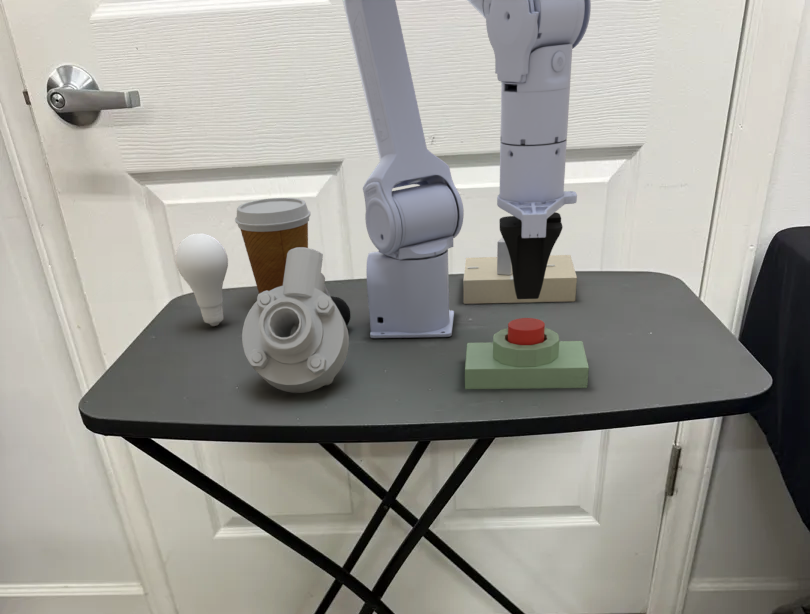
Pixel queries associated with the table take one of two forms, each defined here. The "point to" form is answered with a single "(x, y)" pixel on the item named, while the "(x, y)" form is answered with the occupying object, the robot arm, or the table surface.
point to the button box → (526, 364)
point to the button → (526, 331)
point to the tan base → (496, 288)
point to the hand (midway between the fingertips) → (527, 296)
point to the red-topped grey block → (503, 259)
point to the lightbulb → (204, 273)
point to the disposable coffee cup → (272, 236)
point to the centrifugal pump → (298, 328)
